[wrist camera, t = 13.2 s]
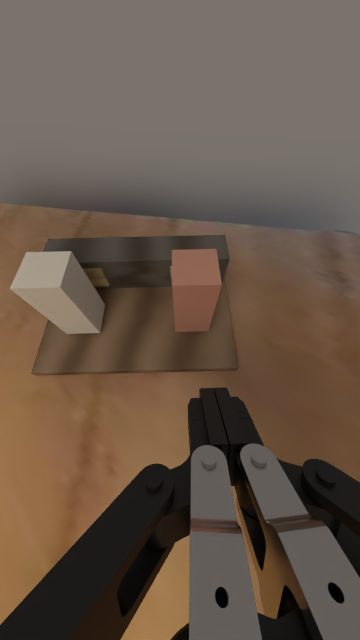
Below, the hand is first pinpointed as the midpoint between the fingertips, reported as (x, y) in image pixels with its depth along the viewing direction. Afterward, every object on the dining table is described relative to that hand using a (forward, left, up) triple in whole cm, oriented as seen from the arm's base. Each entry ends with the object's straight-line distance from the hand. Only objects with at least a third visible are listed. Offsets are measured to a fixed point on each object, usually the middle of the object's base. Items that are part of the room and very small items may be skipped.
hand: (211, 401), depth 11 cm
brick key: (+3, +10, -10) cm, 15 cm away
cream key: (-9, +15, -10) cm, 20 cm away
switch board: (-2, +15, -11) cm, 19 cm away
